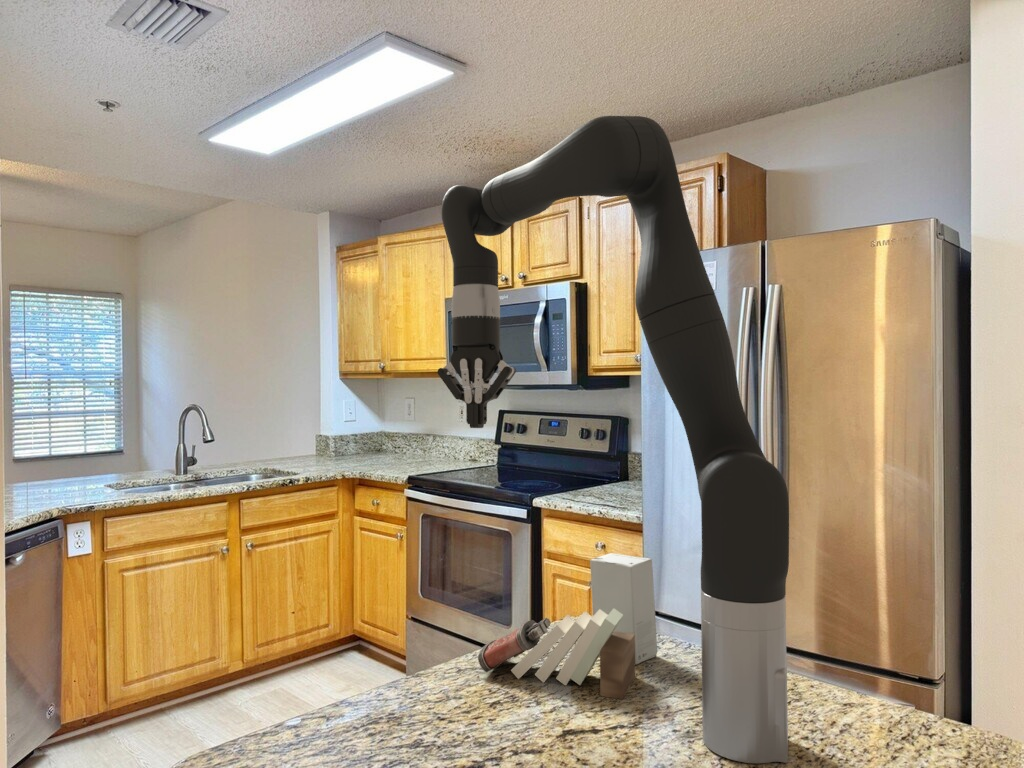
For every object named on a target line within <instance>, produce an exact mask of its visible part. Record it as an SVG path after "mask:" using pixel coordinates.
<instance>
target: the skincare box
mask: <svg viewBox="0 0 1024 768" xmlns="http://www.w3.org/2000/svg"><path fill="white" fill-rule="evenodd" d="M589 563H590V582H591V583H590V585H591V602H592V603H591V604H592V617H593V616H594V615H595V614H596V612H597V611H598V610H599V609H600V610H602V611H603V612H605V613H606V614H609V613H610V612H611V611H612V609H613V608H614V609H616V610H617V611H619V612H620V613H621V614H623V616H622V618H621V620H620V621H619V623H618V625H617V627H616V628H615V630H614V632H622V633H630V634H635V665H638V664H641V663H642V662H645V661H648V660H651V659H653V658H656V657H657V654H658V643H657V642H658V638H657V624H656V623H657V621H656V605H655V589H654V588H655V587H654V574H653V572H654V570H653V569H654V568H653V558H647V557H641V556H632V555H628V554H627V555H625V554H620V553H615V552H610V553H607V554H603V555H600V556H597V557H594V558H591V559H590V560H589ZM612 634H613V633H612Z"/></svg>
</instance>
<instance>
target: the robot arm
mask: <svg viewBox="0 0 1024 768" xmlns="http://www.w3.org/2000/svg"><path fill="white" fill-rule="evenodd" d="M592 196H594V197H595V196H597V197H604V198H613V197H614V198H615V197H624V196H625V197H626V198H627V200H628V201H629V204H630V206H631V209H632V211H633V214H634V217H635V218H634V219H635V220H636V223H637V226H638V230H639V236H640V245H641V246H640V259H639V265H638V271H637V278H636V285H635V296H634V297H635V299H634V300H635V301H634V302H635V309H636V314H637V317H638V320H639V321H640V322H639V323H640V326H641V328H642V329H641V330H642V332H643V334H644V337H645V340H646V341H645V342H646V344H647V347H648V349H649V352H650V354H651V356H652V360H653V361H654V364H655V366H656V368H657V371H658V373H659V375H660V379H661V380H662V382H663V384H664V386H665V388H666V391H667V392H668V394H669V397H670V398H671V400H672V403H673V404H674V407H675V408H676V410H677V412H678V414H679V417H680V420H681V422H682V424H683V427H684V431H685V433H686V434H685V435H686V437H687V442H688V445H689V449H690V453H691V457H692V462H693V466H694V472H695V475H696V481H697V489H698V493H699V498H700V507H701V509H700V511H701V515H700V517H701V520H700V522H701V560H700V621H701V623H700V625H701V630H700V632H701V633H700V634H701V636H700V637H701V643H700V644H701V700H702V701H701V704H702V705H701V707H702V711H701V712H702V713H701V716H702V717H701V726H702V741H703V744H704V746H706V747H707V748H708V750H710V751H712V752H713V753H715V754H717V755H719V756H721V757H723V758H726V759H728V760H732V761H735V762H736V761H737V762H740V763H747V764H767V763H773V762H780V763H785V764H786V763H788V762H789V757H788V756H789V725H788V723H789V720H788V719H789V718H788V717H789V713H788V712H789V711H788V706H789V705H788V659H787V623H786V622H787V621H786V620H787V618H786V617H787V616H786V615H787V614H786V607H787V606H786V603H787V602H786V593H787V591H786V590H787V589H786V586H787V585H786V584H787V577H788V574H789V573H788V572H789V567H790V565H789V564H790V500H789V499H790V498H789V492H788V488H787V484H786V480H785V478H784V476H783V475H782V472H780V470H779V469H778V468H777V467H776V466H775V465H774V464H772V463H771V462H770V461H768V460H767V458H766V457H765V455H764V452H763V450H762V449H761V447H760V444H759V442H758V440H757V438H756V436H755V433H754V431H753V429H752V426H751V424H750V422H749V420H748V419H749V418H747V415H746V412H745V409H744V406H743V403H742V400H741V396H740V391H739V385H738V383H739V382H738V377H737V371H736V365H735V359H734V354H733V349H732V345H731V341H730V336H729V333H728V332H729V331H728V329H727V326H726V325H727V324H726V321H725V319H724V316H723V312H722V310H721V307H720V305H719V302H718V298H717V296H716V293H715V290H714V289H713V288H714V287H713V285H712V283H711V281H710V278H709V275H708V273H707V270H706V267H705V265H704V262H703V258H702V254H701V252H700V249H699V246H698V243H697V239H696V236H695V233H694V230H693V228H692V227H693V226H692V225H691V221H690V219H689V218H690V217H689V214H688V210H687V208H686V203H685V199H684V194H683V190H682V185H681V181H680V177H679V174H678V169H677V165H676V160H675V156H674V153H673V149H672V146H671V143H670V140H669V138H668V135H667V134H666V132H665V130H664V129H663V127H662V126H661V125H660V124H659V123H658V122H657V121H655V120H654V119H652V118H650V117H647V116H642V115H641V116H640V115H602V116H598V117H595V118H593V119H591V120H589V121H587V122H586V123H584V124H583V125H581V126H579V127H578V128H576V130H573V132H571V133H570V134H568V135H567V136H566V137H564V139H563V140H562V141H560V142H559V143H558V144H556V145H555V146H553V147H552V148H550V149H549V150H547V151H545V153H543V154H541V155H539V156H538V157H537V158H535V159H533V160H531V161H529V162H527V163H525V164H523V165H520V166H518V167H515V168H514V169H511V170H509V171H507V172H505V173H502V174H500V175H498V176H496V177H494V178H492V179H491V180H489V181H488V182H487V183H486V184H485V186H484V188H483V189H482V188H478V187H475V186H474V187H473V186H469V185H463V184H457V185H454V186H452V187H450V188H449V189H447V191H446V193H445V195H444V196H443V199H442V202H441V208H440V209H441V212H440V213H441V219H442V225H443V228H444V232H445V236H446V239H447V243H448V247H449V250H450V255H451V259H452V271H453V272H452V273H453V275H452V276H453V277H452V279H453V280H452V281H453V282H452V283H453V284H452V285H453V289H452V297H451V298H452V299H451V310H450V315H451V346H452V352H451V355H450V357H449V362H448V363H447V364H446V365H444V367H440V368H438V370H437V375H438V376H439V378H440V379H441V380H442V382H443V383H444V385H445V386H446V387H447V389H448V390H449V391H450V393H451V394H452V396H453V397H454V398H455V400H459V401H462V402H464V403H465V404H466V405H465V406H466V423H467V425H469V428H470V429H482V428H484V426H485V425H486V424H487V422H488V409H487V408H488V403H489V402H491V401H493V400H497V399H499V397H500V395H501V394H502V393H503V392H504V389H505V388H506V387H507V386H508V384H509V383H510V381H511V380H512V378H513V377H514V376H515V374H516V373H517V370H516V368H515V367H514V366H510V365H509V364H508V363H507V362H505V360H503V359H504V357H503V354H502V352H501V348H500V347H501V301H500V294H499V259H498V255H497V253H496V252H495V251H493V250H491V249H490V248H489V247H488V248H487V246H483V245H482V244H480V243H479V241H478V239H477V237H476V235H477V236H484V237H495V236H499V235H501V234H504V233H505V232H506V231H508V229H510V228H511V226H513V225H514V224H515V223H517V222H520V221H523V220H526V219H529V218H532V217H535V216H537V215H539V214H542V213H543V212H544V211H547V209H549V208H550V207H551V206H552V205H553V204H554V203H555V202H557V201H560V200H563V199H568V198H576V197H592ZM495 373H497V377H496V378H495V380H494V381H493V382H492V384H491V381H492V380H491V379H492V378H493V377H494V375H495ZM456 375H458V376H459V377H460V379H461V382H460V381H459V380H458V379H457V377H456Z"/></svg>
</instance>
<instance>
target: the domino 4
mask: <svg viewBox="0 0 1024 768" xmlns="http://www.w3.org/2000/svg"><path fill="white" fill-rule="evenodd" d="M622 616H623V614H621V613H620V612H619V611H617V610H616V609H614V608H613V609H612V611H611V612H610V613H609V614H608V615H607V617H606V618H605V619H604V621H603V623H602V624H601V626H600V628H599V630H598V631H597V633H596V635H595V636H594V638H593V640H592V642H591V643H590V645H589V647H588V648H587V650H586V652H585V654H584V655H583V657H582V659H581V661H580V662H579V664H578V666H577V667H576V669H575V671H574V673H573V674H572V676H571V681H573V682H575V683H576V684H577V685H579V686H581V685H582V683H583V682H584V681H585V679H586V678H587V677H588V675H589V674H590V672H591V671H592V669H593V667H594V666H595V665H596V663H597V661H598V659H599V658H600V650H601V648H602V647H603V646H604V644H605V643H606V642H607V640H608V639H609V638H610V636H611V635H612V633H613V632H614V630H615V628H616V627H617V625H618V623H619V621H620V620H621V618H622Z"/></svg>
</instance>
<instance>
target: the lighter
mask: <svg viewBox="0 0 1024 768" xmlns="http://www.w3.org/2000/svg"><path fill="white" fill-rule="evenodd" d="M551 624H552V623H551V620H550V618H547V617H545V618H543V619H542V620H540V621H539V622H536V621H535V619H534V620H533V619H531V620H528V621H526V622H525V623H523V624H521V625H520V626H519V627H518V628H516V629H515V630H513V631H511V632H509V633H507V634H505V635H504V636H501V637H500V638H498V639H494V640H492V641H489V642H488V643H486V644H485V645H483V646H482V648H480V650H479V653H478V655H477V661H478V664H479V666H480V668H481V669H482V671H484V672H485V673H488V672H490V671H492V670H495V669H496V668H497V667H499V666H500V665H501V664H502V663H505V662H506V661H508V660H510V659H511V658H512V659H513V658H516V657H518V656H520V655H522V654H523V653H525V652H526V651H529V650H530V651H531V650H532V649H533V648H534V647H535V646H536V645H537V644H538V643H539V642H540V641H541V637H542V636H543V635H545V634H546V633H549V631H548V628H550V626H551Z"/></svg>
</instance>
